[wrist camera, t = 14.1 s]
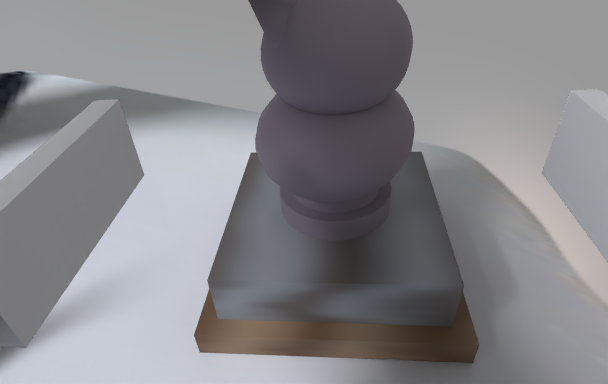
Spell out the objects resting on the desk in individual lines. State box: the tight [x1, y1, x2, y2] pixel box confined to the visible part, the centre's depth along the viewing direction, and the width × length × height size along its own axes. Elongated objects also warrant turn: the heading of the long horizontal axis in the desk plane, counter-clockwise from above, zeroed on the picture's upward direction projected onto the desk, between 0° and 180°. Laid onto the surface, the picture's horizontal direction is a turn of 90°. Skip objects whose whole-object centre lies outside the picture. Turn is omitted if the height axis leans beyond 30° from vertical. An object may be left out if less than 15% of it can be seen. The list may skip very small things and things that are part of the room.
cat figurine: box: [249, 0, 414, 241], centre depth 20 cm, size 8×8×12 cm
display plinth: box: [194, 152, 479, 363], centre depth 25 cm, size 14×14×4 cm
